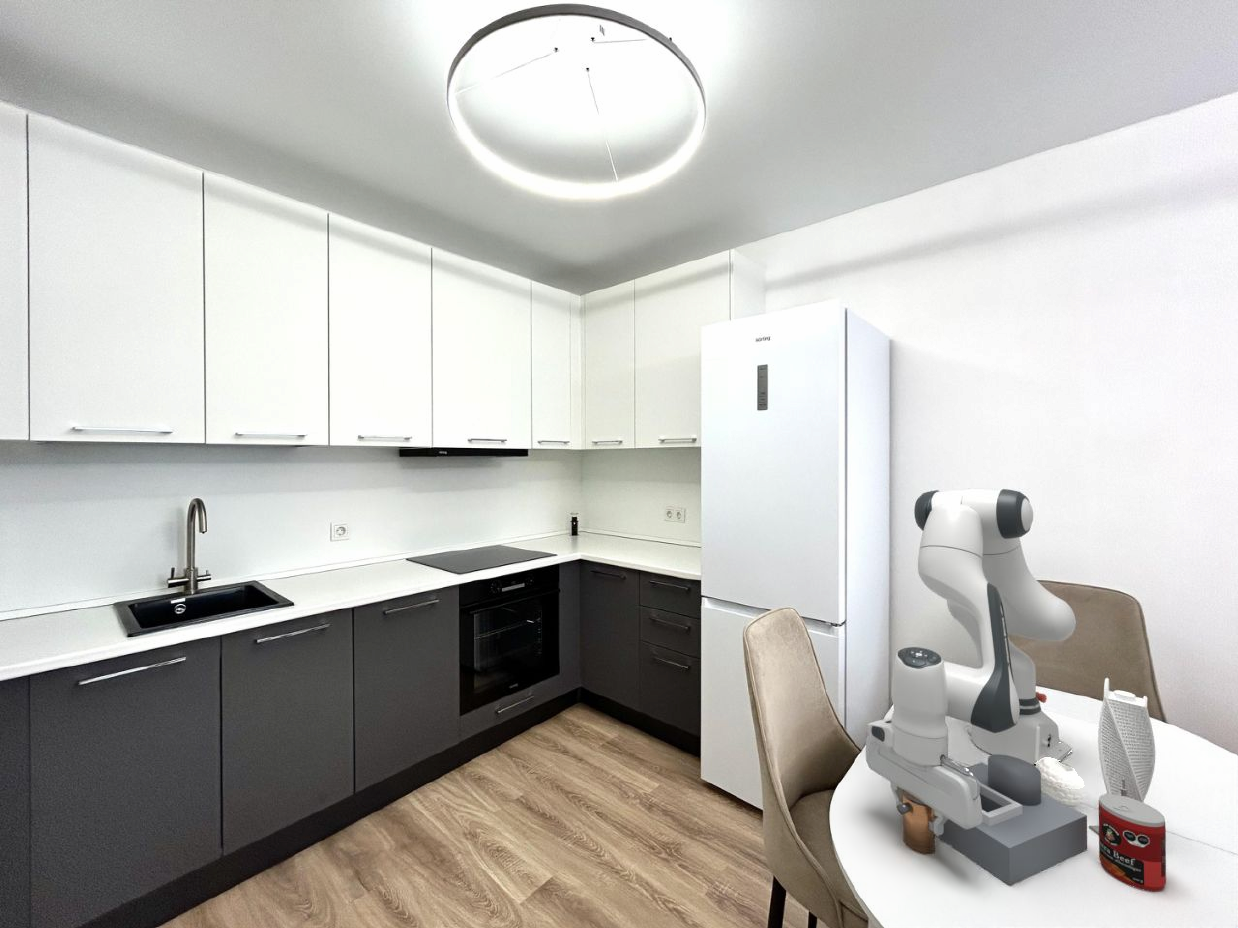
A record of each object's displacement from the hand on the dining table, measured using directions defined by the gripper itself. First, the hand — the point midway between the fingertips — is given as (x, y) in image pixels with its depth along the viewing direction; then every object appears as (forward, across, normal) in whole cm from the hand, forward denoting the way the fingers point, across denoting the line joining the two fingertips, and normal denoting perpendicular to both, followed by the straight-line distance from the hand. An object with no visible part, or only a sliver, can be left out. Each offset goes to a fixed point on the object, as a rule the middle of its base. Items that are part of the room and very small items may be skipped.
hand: (919, 820), depth 91 cm
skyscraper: (+4, -13, -37) cm, 39 cm away
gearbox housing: (+4, -3, -16) cm, 17 cm away
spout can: (+4, 0, +1) cm, 4 cm away
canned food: (+4, -18, -27) cm, 33 cm away
